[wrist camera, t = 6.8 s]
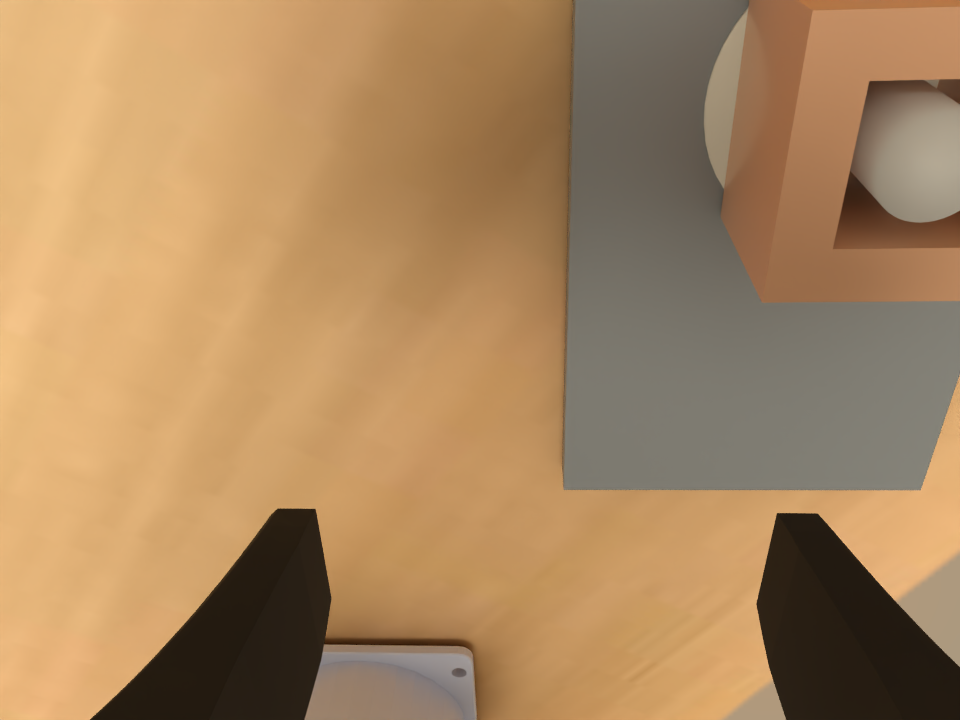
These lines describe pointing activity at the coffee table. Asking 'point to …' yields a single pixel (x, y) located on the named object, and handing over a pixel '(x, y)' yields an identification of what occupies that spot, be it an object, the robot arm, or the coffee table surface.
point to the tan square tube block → (833, 151)
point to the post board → (732, 280)
